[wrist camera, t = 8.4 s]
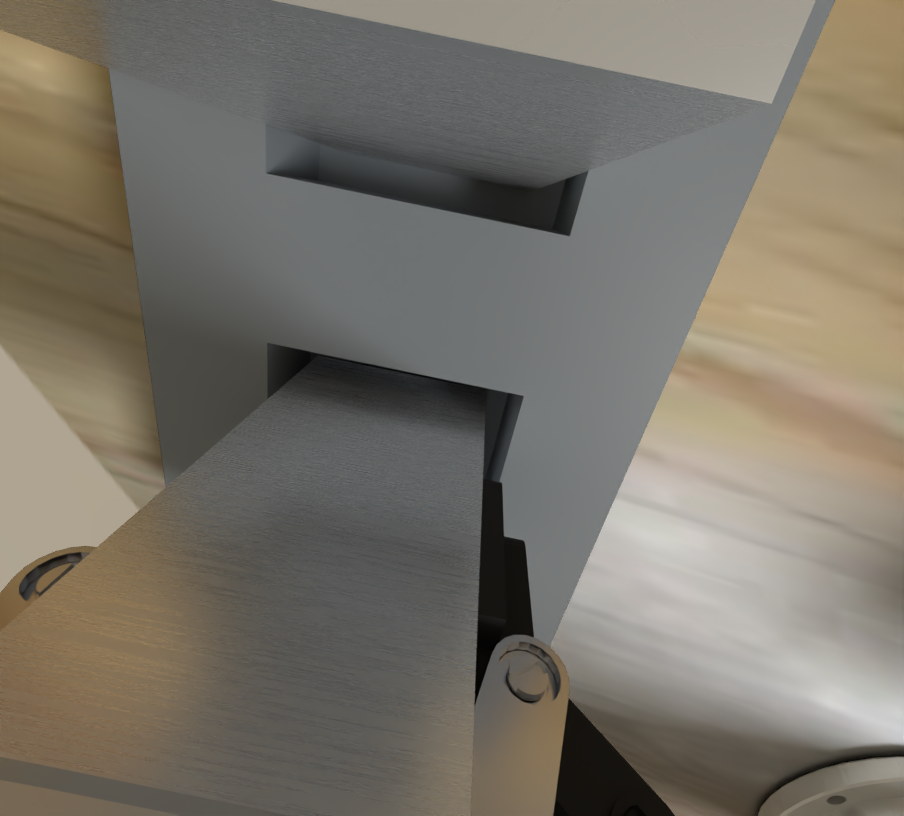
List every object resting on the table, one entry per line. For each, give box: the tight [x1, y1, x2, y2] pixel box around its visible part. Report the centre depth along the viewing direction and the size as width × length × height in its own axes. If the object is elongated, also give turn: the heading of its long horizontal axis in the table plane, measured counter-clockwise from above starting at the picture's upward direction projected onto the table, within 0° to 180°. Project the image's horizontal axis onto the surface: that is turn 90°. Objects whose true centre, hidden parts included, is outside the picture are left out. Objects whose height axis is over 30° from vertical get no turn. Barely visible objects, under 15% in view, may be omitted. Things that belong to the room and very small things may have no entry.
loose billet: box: [0, 356, 486, 816], centre depth 9 cm, size 5×5×11 cm
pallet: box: [109, 0, 835, 646], centre depth 12 cm, size 22×13×4 cm, turn 170°
